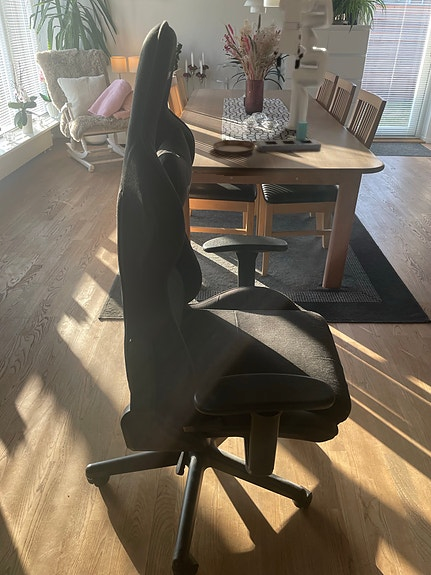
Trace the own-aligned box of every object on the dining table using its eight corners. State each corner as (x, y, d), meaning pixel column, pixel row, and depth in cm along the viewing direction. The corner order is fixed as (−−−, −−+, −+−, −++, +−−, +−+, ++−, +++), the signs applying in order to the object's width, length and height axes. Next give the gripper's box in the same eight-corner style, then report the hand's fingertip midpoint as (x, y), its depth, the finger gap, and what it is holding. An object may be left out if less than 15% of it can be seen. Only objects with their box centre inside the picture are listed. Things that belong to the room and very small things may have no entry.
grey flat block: (256, 146, 231) (256, 140, 230) (313, 144, 236) (314, 138, 234) (261, 152, 223) (261, 146, 222) (320, 150, 227) (321, 144, 226)
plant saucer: (203, 151, 224) (203, 144, 222) (232, 143, 236) (233, 137, 234) (234, 161, 212) (234, 153, 210) (263, 152, 224) (264, 145, 222)
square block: (295, 141, 241) (297, 121, 236) (303, 140, 242) (305, 121, 237) (298, 143, 238) (300, 123, 233) (305, 143, 239) (307, 123, 233)
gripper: (312, 27, 210) (307, 68, 219) (278, 25, 219) (275, 65, 228) (305, 28, 205) (300, 70, 214) (270, 26, 213) (267, 66, 222)
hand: (287, 67), depth 221 cm, fingers open, 9 cm apart
